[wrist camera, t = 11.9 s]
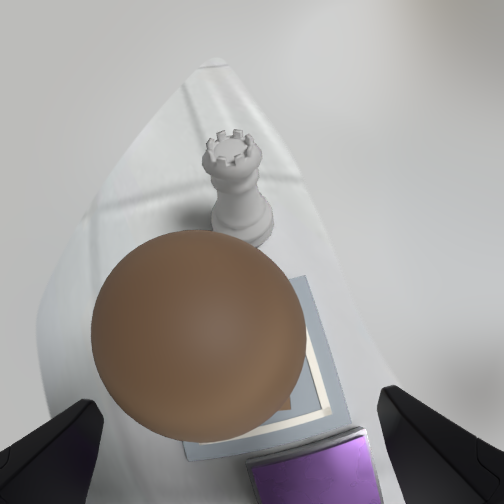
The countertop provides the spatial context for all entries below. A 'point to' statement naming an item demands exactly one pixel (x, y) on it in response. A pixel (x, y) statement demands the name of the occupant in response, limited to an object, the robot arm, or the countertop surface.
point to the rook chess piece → (238, 188)
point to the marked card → (294, 397)
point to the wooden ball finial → (198, 336)
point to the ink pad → (319, 473)
